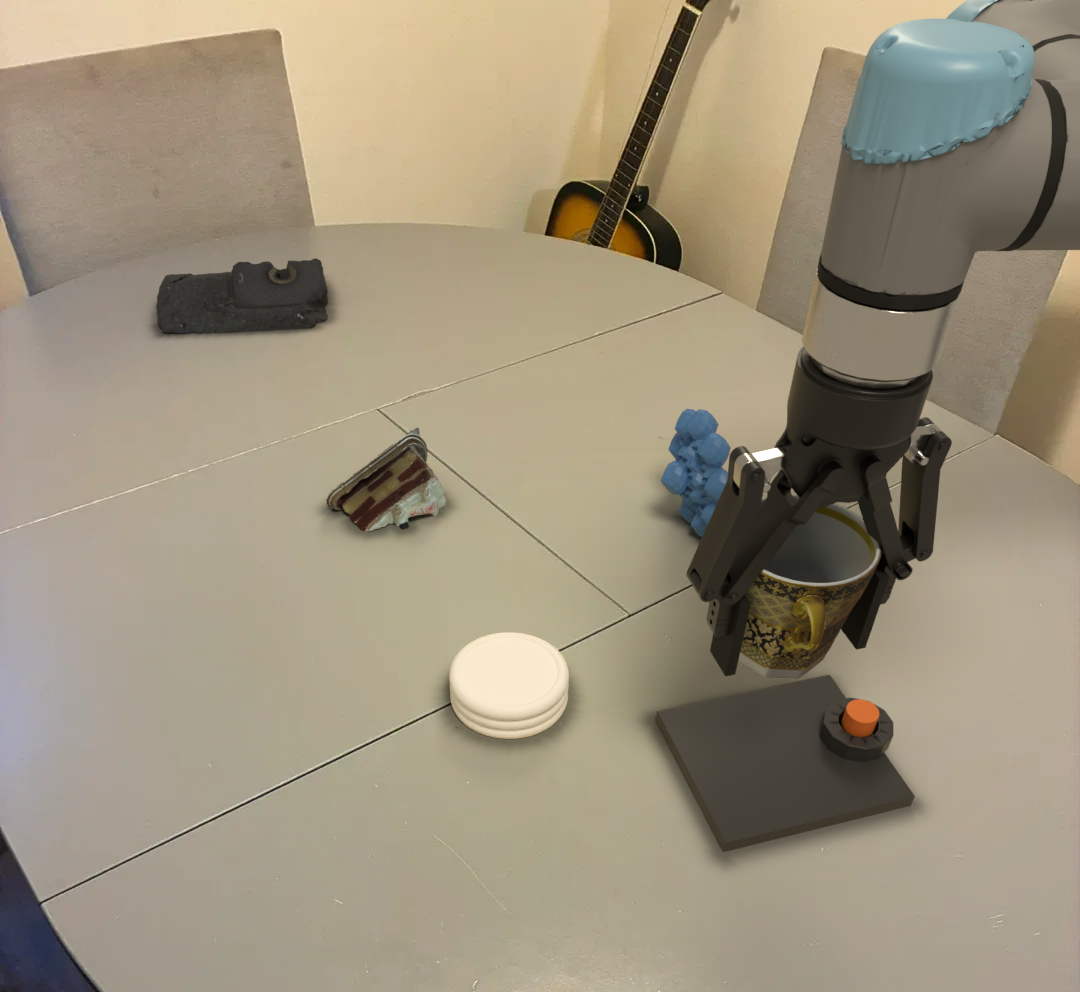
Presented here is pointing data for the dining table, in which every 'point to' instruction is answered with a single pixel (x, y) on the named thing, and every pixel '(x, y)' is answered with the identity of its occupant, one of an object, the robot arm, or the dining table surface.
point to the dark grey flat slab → (781, 762)
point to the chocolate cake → (391, 487)
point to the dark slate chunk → (244, 299)
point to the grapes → (697, 467)
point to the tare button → (860, 718)
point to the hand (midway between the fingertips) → (788, 649)
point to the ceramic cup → (807, 593)
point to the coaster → (509, 685)
